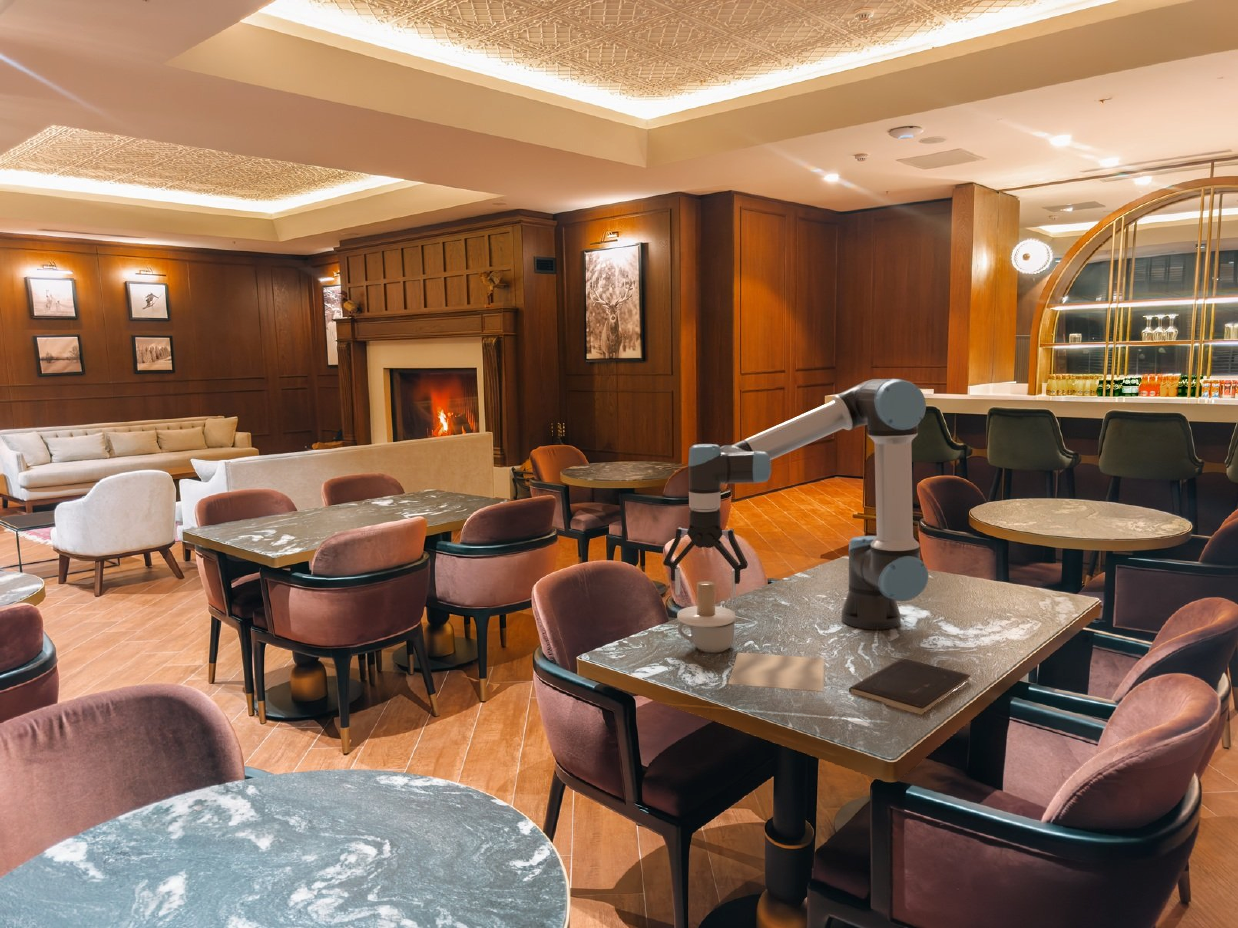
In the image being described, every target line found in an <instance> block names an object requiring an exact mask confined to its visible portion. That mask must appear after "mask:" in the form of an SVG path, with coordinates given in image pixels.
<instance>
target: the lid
mask: <svg viewBox="0 0 1238 928" xmlns="http://www.w3.org/2000/svg"><path fill="white" fill-rule="evenodd" d="M676 615H677V616H676V617H677V621H679V623H680V622H682V623H684V624H687V625H686V626H688V625H691V626H698V627H717V626H724V625H727V624H730V623H732V622H734V621H735V622H736V613H735V611H733V610H731V609H729V608H727V607H723V606H717V605H716V583H715V582H713V581H707V580H706V581H705V580H704V581H698V582H696V605H694V606H688V607H685V608H684V607H683V608H681V609H680V610H678V611H677V614H676Z"/></svg>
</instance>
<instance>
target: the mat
mask: <svg viewBox="0 0 1238 928" xmlns="http://www.w3.org/2000/svg"><path fill="white" fill-rule="evenodd" d="M824 664H825V659H824V657H809V656H794V655H782V654H781V655H780V654H779V655H778V654H766V653H764V654H763V653H749V652H737V654H736V657H735V661H734V664H733V666H732V669H731V670H732V671H731V674H730V677H729V680H728V684H727V685H733V686H747V687H758V688H771V689H783V690H784V689H785V690H786V689H787V690H796V691H811V692H812V691H813V692H824V677H825V676H824V674H825V672H824V670H825V669H824V668H825V666H824Z"/></svg>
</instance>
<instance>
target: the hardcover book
mask: <svg viewBox="0 0 1238 928" xmlns="http://www.w3.org/2000/svg"><path fill="white" fill-rule="evenodd" d="M970 677H971V674H969V673H968V674H967V673H964V672H961V671H960V672H959V671H956V670H952V669H948V668H943V667H939V666H937V665H931V664H928V663H923V662H920V661H915V660H911V659H908V658H903V657H901V658H899V659H897V660H895V661H894V662H893V663H892V662H891V664H889V665H888V666H885V667H884V668H882V669H879V670H878V671H877V672H876V671H875V673H873V674H872V675H870V676H868V677H866V678H864V679H862V680H861V681H858V682H857V683H855V684H854V685H852V686H850V687H849V688H848V693H852V694H856V695H858V696H862V697H865V698H869V699H872V700H876V701H879V702H881V703H884V705H887V706H889V707H893V708H896V709H900V710H902V711H903V710H904V711H907V712H910V713H913V712H915V713H914V714H916V713H918V714H917V715H920V714H922V715H923V714H925V713H926V712H928V711H929V710H930V709H932V708H933V707H935V706H936V705H937V704H936V703H937V702H939V701H940V700H941V699H943V698H944V697H945V696H947V695H948V694H949V693H951V692H952V691H953V690H954V689H956V688H958V687H959V686H961V685H962V684H963V683H964V682H966V681H967V680H968V681H969V678H970ZM943 700H944V699H943ZM939 703H940V702H939ZM935 704H936V705H935ZM934 705H935V706H934ZM932 706H933V707H932ZM931 707H932V708H931ZM928 709H929V710H928ZM927 710H928V711H927ZM924 712H925V713H924Z"/></svg>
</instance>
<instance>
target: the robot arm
mask: <svg viewBox="0 0 1238 928" xmlns="http://www.w3.org/2000/svg"><path fill="white" fill-rule="evenodd" d="M926 408H927V401H926V398H925V396H924V393H923V392H922V390H921V389H920V388H919V387H918V385H916V384H914V383H913V382H911V381H909V380H905V379H904V380H903V379H900V378H872V379H868V380H866V381H863V382H861V383H858V384H857V385H854V386H853V387H850V388H848V389H846V390H844V391H842V392H841V393H837V394H836V395H834V396H832V398H831V401H829V402H828V403H826V404H823V405H820V406H818V407H816V408H814V409H811V410H809V411H807V412H804V413H802V414H800V415H798V416H796V417H793V418H790V419H789V420H786V421H784V422H782V423H780V424H777V425H775V426H773V427H770V428H768V429H766V430H763V431H761V432H758V433H756V434H755V435H752V436H750V437H748V438H745V439H743V440H741V441H739V442H736V443H734V444H727V445H722V446H720V445H719V444H715V443H713V444H712V443H699V444H694V445H692V446H690V447H689V451H688V463H687V466H688V489H689V490H688V506H689V508H690V509H689V511H688V515H689V517H688V518H689V520H688V522H689V523H688V525H689V526H688V528H683V527H682V526H679V527H678V528H677V529H676V530H675V538H674V540H673V542H672V544H671V546H670V548H669V550H668V551H667V554H666V556H665V558H664V559H663V562H662V564H663V566H667V567H669V569H670V580H671V582H674V589H675V590H674V591H675V592H674V593H675V594H674V595H675V596H679V595H680V594H681V566H679V564H680V563H681V561H682V560H683V559H684V558H685V557H686V555H688V553H689V552H690V551H691V550H692V549H693V548H694V547H697V548H708V549H712V548H713V547H714V548H715V549H716V550H717V551H718V553H720V554H721V556H722V557H723V558H724V559H725V561H727V563H728V564H729V565H730V566H731V567H732V569H731V576H730V577H731V578H730V579H731V582H730V583H731V584H730V585H731V588H730V589H731V593H730V594H731V596H730V597H731V599H735V598H736V597H737V584H738V585H739V584H740V583H741V571H742V570H744V569H745V570H746V569H747V568H748V566H749V563H748V561H747V559H746V557H745V555H744V553H743V550H742V549H741V547H740V545H739V542H738V541H737V539H736V537H735V536H736V535H735V529H733V528H729V529H724V530H723V529H722V523H721V518H722V517H721V516H722V515H721V510H720V508H721V502H722V501H721V489H722V486H721V485H722V484H725V485H727V484H752V483H753V484H757V483H765V482H767V481H768V480H769V479H770V478H771V475H772V462H771V461H772V460H774V459H777V458H779V457H781V456H783V455H785V454H788V453H790V452H793V451H795V450H798V449H799V448H801V447H804V446H806V445H808V444H811V443H814V442H816V441H818V440H820V439H822V438H824V437H827V436H829V435H831V434H833V433H836V432H838V431H841V430H843V429H844V430H846V431H850V430H853V429H856V428H858V427H862V426H867V436H868V437H869V438H870V439H871V440H872V441H873V443H874V476H875V483H874V484H875V515H876V516H875V517H876V518H875V519H876V520H875V521H876V523H875V525H876V535H864V536H863V535H861V536H854V537H852V538H851V539H850V540H849V544H848V550H847V551H848V592H847V595H846V598H845V600H844V603H843V607H842V609H841V616H840V617H841V621H842V622H843V623H844V624H845V625H847V626H851V627H854V628H858V629H863V630H865V629H866V630H875V631H876V630H890V629H894V628H896V627H897V628H898V627H899V626H900V625H901V612H900V609H899V605H898V603H897V602H907V601H911V600H913V599H915V598H917V597H918V596H920V595H921V593H922V592H924V590H925V588H926V587H927V585H928V581H929V571H928V568H927V566H926V564H925V562H924V561H923V560H921V552H920V551H921V547H920V544H921V543H919V542H918V541H917V540H916V539H915V538H914V529H913V528H914V527H913V526H914V525H913V523H914V519H913V517H914V516H913V515H914V513H913V467H912V466H913V464H912V462H913V459H912V452H913V451H912V450H913V449H912V443H913V440H914V439H915V438H916V437H917V436H918V435H919V424H920V422H921V421H922V420H923V419H924V417H925V414H926V410H927V409H926ZM686 535H687V536H688V538H689V539H690V540H691V541H689V542H688V544H687V545H686V547H685V548H684V549H683V550H682V551H680V553H679V555H678V556H677V557H676V558H675V559H674V560H672V558H673V556H674V554H675V553H676V550H677V548H678V546H679V544H680V541H681V540H682V538H685V536H686ZM723 536H724V537H725V538H726V540H728V541H729V542H728V543H729V544H730V546H731V549H733V552H734V555H735V557H736V558H737V559H738V561H737V560H736V559H735V557H734V556H733V555H732V553H730V551H729V550H728V549H727V547H726V546H725V545H724V543H722V541H721V540H720V539H721V538H722V537H723Z"/></svg>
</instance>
